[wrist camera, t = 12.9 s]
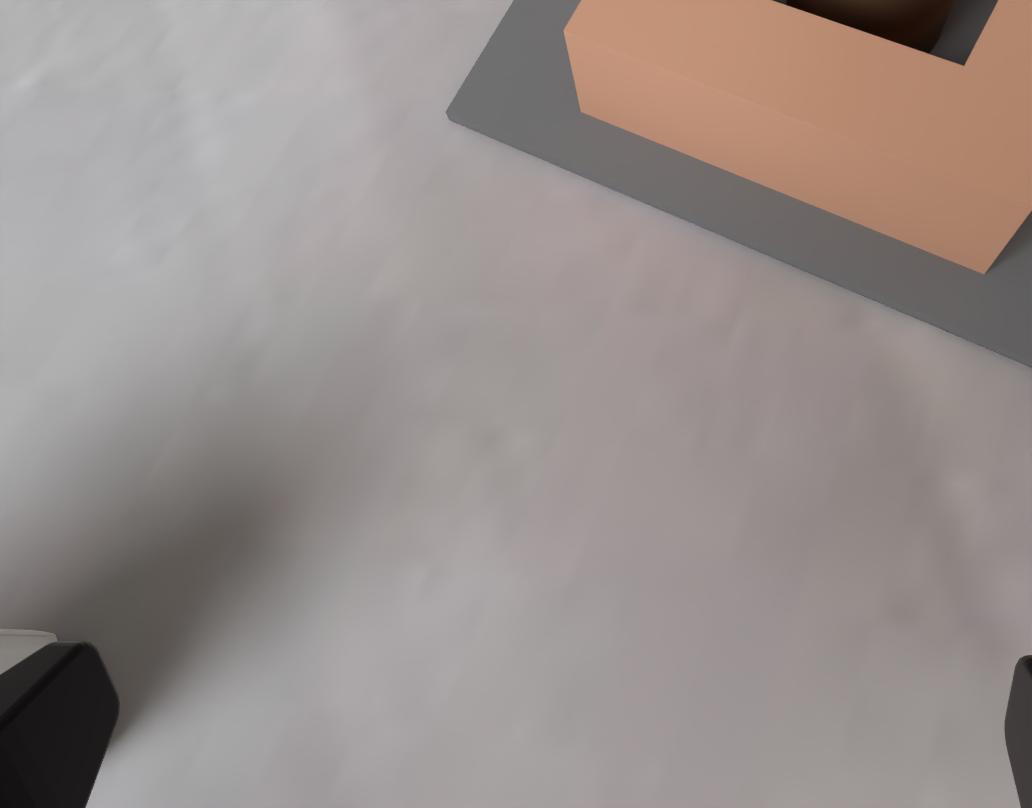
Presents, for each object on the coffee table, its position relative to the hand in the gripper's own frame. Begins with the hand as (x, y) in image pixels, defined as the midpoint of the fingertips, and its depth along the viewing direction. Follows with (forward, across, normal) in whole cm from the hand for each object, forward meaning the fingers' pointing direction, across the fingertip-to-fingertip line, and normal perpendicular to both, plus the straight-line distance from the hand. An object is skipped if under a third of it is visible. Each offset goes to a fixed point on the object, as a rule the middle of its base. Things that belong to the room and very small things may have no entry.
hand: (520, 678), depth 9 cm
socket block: (+21, -6, -2) cm, 22 cm away
